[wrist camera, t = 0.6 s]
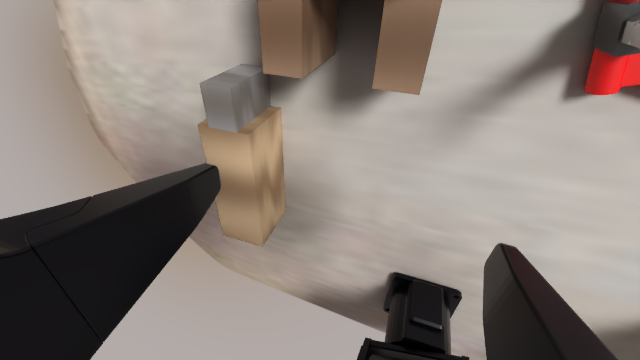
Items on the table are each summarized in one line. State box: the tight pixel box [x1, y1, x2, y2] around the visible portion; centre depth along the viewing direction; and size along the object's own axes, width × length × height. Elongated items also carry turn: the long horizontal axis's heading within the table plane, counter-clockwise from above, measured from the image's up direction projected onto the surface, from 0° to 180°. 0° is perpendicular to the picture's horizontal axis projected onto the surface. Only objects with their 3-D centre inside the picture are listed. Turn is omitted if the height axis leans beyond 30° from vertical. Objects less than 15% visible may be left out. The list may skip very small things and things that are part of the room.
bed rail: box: [198, 64, 286, 247], centre depth 24 cm, size 14×4×5 cm, turn 178°
